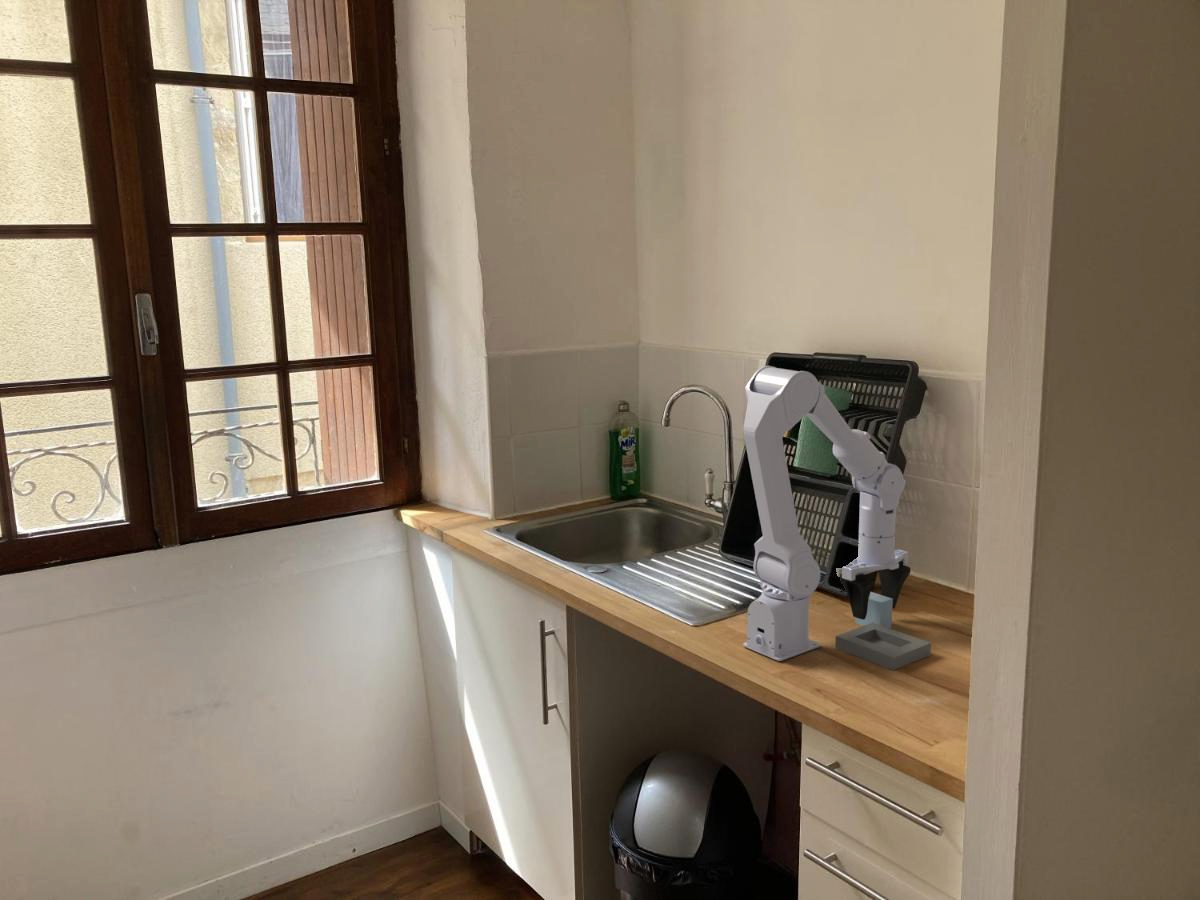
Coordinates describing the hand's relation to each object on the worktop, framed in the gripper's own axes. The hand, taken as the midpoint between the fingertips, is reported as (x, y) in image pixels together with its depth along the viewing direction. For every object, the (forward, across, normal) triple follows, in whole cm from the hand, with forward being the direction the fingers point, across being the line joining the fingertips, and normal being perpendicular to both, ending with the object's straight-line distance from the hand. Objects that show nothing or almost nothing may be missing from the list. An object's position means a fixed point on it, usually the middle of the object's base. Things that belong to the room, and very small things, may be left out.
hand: (874, 612), depth 165 cm
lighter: (+2, +12, +15) cm, 19 cm away
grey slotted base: (+2, -8, -8) cm, 12 cm away
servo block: (+2, 0, 0) cm, 2 cm away
